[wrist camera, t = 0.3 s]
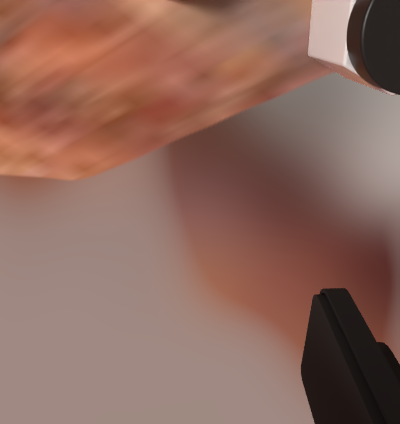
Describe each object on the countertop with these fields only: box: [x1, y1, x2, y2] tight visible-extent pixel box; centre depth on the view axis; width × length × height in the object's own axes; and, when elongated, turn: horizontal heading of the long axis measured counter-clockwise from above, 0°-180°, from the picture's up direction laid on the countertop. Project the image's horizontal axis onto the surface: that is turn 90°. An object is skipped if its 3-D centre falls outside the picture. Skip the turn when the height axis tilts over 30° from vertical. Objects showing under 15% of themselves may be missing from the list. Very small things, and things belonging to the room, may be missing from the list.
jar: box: [308, 0, 400, 95], centre depth 27 cm, size 9×8×12 cm
